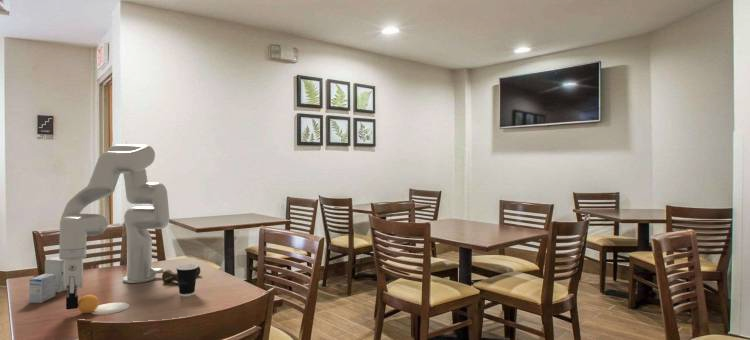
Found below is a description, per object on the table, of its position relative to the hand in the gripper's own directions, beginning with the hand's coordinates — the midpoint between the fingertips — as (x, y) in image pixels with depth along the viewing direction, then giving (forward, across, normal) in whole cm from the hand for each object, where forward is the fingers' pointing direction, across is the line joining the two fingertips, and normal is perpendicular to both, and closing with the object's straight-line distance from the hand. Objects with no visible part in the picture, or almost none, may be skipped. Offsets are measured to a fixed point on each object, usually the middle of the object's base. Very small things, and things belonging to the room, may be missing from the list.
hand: (72, 308), depth 149 cm
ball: (-1, 0, -5) cm, 5 cm away
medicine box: (+2, +25, +10) cm, 27 cm away
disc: (+2, +1, -11) cm, 11 cm away
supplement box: (+2, +37, +5) cm, 37 cm away
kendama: (+2, +27, -38) cm, 47 cm away
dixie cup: (+2, +5, -37) cm, 37 cm away
